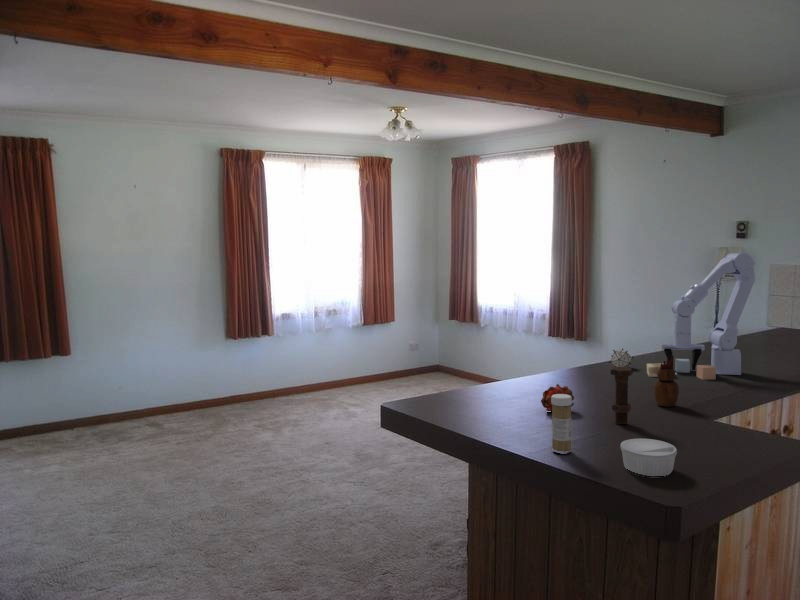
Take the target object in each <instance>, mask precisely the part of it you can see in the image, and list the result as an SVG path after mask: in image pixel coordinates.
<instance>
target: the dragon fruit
mask: <svg viewBox="0 0 800 600" xmlns="http://www.w3.org/2000/svg"><path fill="white" fill-rule="evenodd" d="M555 394H567V395H570V396H571V397H572V401H574V400H575V396H574V395H573V391H572V390H571V389H570V388H569V387H568V386H566V385H564V386H563V387H562V386H560V384H558V383H557V384H556V386H550V387H549V388H548V389H546V390H544V391H543V392H542V398H541V400H540V403H541V405H542V407H543V408H545V409H546V410H545V411H551V412H552V403H551V397H552V395H555ZM574 405H575V403H574V402H572V404H571V408H572V407H573V406H574Z"/></svg>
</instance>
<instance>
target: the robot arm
mask: <svg viewBox="0 0 800 600" xmlns="http://www.w3.org/2000/svg"><path fill="white" fill-rule="evenodd" d="M755 264H756V262H755V261H754V259H753V257H752V256H751V255H750V254H749V253H746V252H741V253H740V252H739V253H737V252H729V253H727V254H726V255H725V256H723V258H722V259H720V260H719V261H718V263H717V264H716V266H715V267H714V268H713V269H711V271H710V272H709V273H708V275H707V276H705V278H704V279H703V280H702V281H701V282H700V283H695V284H694V285H690V286H689V290H688V291H687V292H686V293H684V295H681V296H680V298H679V299H678V300H676V301H675V302H673V305H672V306H671V311H672V313H673V314H674V320H673V343H660V350H661V351H663V352H664V355H665V357H666V358H667V357H668V358H669V364H670V361H671V358H672V355H673V350H674V351H677V350H678V351H691V356H692V358H691V370H692V371H696V368H697V365H698V364H697V363H698V361H699V359H700V357H701V355H702V353H703V351H705V349H706V348H705V345H704V344H695V343H694V344H693V343H692V315H693V314H694V313H695V309H696V307H697V306H698V305H699V304H700V303H701V302H702V301H704V300H705V298H706V297H707V296H709V289H711V288H712V287H713V286H714V285H715V284H716V283H717V282H718V281H719V280H721V279H722V278H723V277H724V276H725V275H728V274H732V275H733V276H734V278H735V280H736V282H735V285H734V287H733V289H732V292H731V295H730V296H729V297H730V298H729V300H728V302H727V304H726V308H725V310H724V312H723V315H722V317H721V319H720V321H719V322H718V323H716V324H715V327H714V329H712V331H710V332H709V334H708V340H709V343H710V344H711V352H710V353H711V358H710V359H711V362H710V365H711V366H714V367H716V375H725V376H728V375H729V376H730V375H731V376H732V375H733V376H735V375H737V376H741V375H742V353H741V350H740V349H737V348H736V349H735V347H736V346H737V344H738V334H739V330H738V329H739V328H738V327H737V326H738V323H739V321H740V319H741V316H742V313H743V311H744V309H745V306H746V303H747V301H748V298H749V297H750V293H751V291H752V288H753V286H754V283H755V281H756V275H755V267H754V266H755Z"/></svg>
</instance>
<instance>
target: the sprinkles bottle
mask: <svg viewBox="0 0 800 600" xmlns="http://www.w3.org/2000/svg"><path fill="white" fill-rule="evenodd" d="M551 403H552V413H551V439H552V440H551V445H552V447H551V449H552V448H553V449H554V450H557V451H564V452H565V451H570V450H571V451H572V407H571V404H572V403H573V400H572V397H571V396H570V395H567V394H555V395H552V397H551Z"/></svg>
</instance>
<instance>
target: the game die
mask: <svg viewBox="0 0 800 600" xmlns="http://www.w3.org/2000/svg"><path fill="white" fill-rule="evenodd" d="M612 352H613V354H612V355H611V359H610V361H608V362H607V363H608V364H610V363H611V365H613V366H614V367H628V368H630V365H632V363H631V362H632V359H634V357H635V356H631V355H630V354H629V353H628V350H626V351H625V350H624V348H621V350H615V349H613V350H612Z"/></svg>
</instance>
